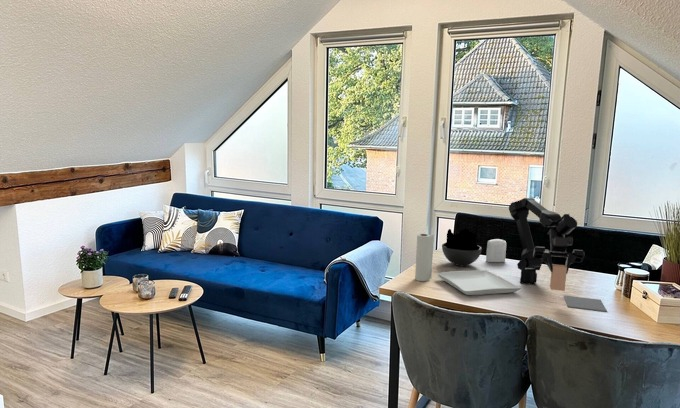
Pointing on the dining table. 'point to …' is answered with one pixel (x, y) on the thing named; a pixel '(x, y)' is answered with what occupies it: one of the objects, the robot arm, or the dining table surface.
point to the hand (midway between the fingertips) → (559, 272)
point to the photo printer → (496, 250)
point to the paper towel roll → (424, 257)
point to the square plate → (478, 282)
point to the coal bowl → (461, 248)
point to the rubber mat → (584, 303)
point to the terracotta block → (558, 277)
